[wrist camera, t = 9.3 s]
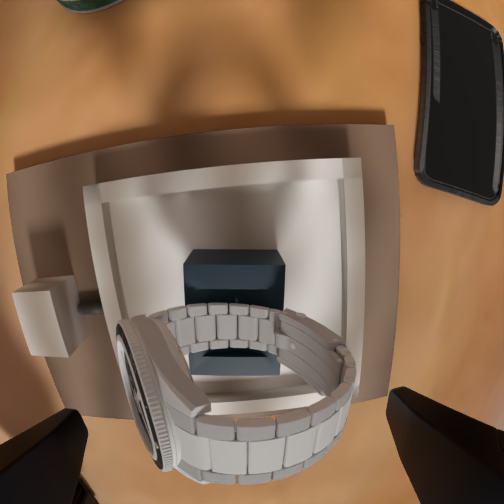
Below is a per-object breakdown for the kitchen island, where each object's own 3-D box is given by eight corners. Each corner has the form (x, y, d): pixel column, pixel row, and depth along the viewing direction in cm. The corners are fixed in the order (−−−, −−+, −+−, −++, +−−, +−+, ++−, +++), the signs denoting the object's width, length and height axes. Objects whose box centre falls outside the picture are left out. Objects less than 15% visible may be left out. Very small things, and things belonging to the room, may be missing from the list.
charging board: (72, 406, 21) (53, 437, 17) (14, 173, 17) (-23, 175, 13) (382, 388, 21) (402, 420, 17) (386, 127, 17) (419, 117, 13)
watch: (156, 248, 17) (43, 351, 6) (311, 249, 17) (413, 356, 6) (163, 344, 18) (102, 498, 7) (304, 345, 18) (361, 502, 7)
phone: (501, 31, 15) (499, 208, 18) (493, 35, 16) (489, 207, 19) (422, -13, 14) (415, 181, 17) (416, -7, 15) (407, 181, 18)
